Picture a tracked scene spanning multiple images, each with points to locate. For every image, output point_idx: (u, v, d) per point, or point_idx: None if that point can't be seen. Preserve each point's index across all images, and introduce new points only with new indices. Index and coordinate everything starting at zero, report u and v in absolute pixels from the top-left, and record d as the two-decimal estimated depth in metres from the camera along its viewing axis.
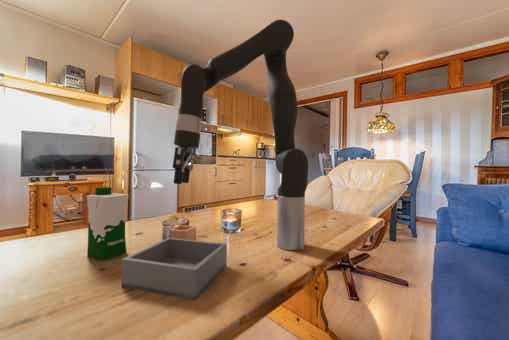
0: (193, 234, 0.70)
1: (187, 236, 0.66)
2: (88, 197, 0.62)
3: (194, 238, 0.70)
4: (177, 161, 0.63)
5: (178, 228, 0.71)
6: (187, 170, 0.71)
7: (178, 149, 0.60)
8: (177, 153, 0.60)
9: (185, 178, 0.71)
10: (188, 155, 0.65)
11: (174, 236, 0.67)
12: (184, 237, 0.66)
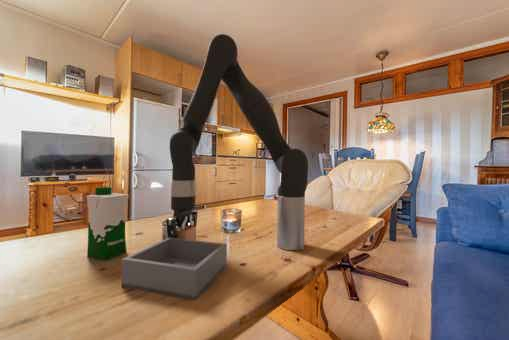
0: (193, 234, 0.70)
1: (187, 236, 0.66)
2: (88, 197, 0.62)
3: (194, 238, 0.70)
4: None
5: None
6: None
7: (168, 221, 0.63)
8: (168, 225, 0.63)
9: None
10: (183, 220, 0.67)
11: None
12: (184, 237, 0.66)
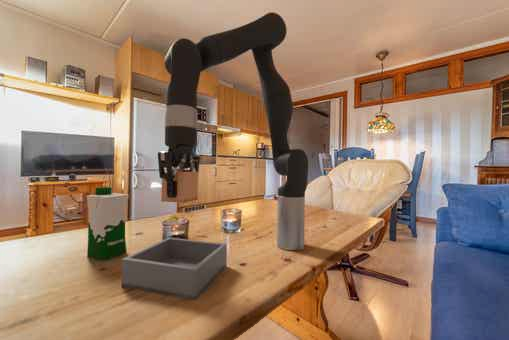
0: (194, 180, 0.53)
1: (186, 180, 0.50)
2: (88, 197, 0.62)
3: (195, 186, 0.54)
4: None
5: None
6: None
7: (161, 154, 0.46)
8: (161, 160, 0.46)
9: None
10: (181, 158, 0.50)
11: None
12: (182, 180, 0.49)
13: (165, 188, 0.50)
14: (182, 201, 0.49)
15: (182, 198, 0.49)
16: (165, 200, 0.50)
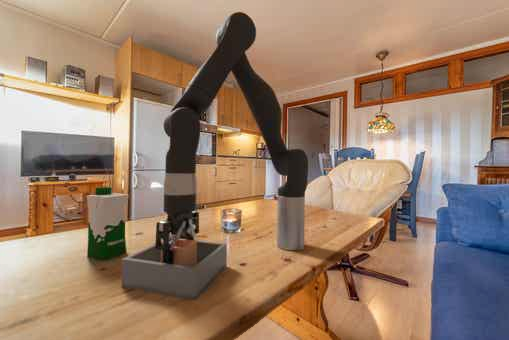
0: (193, 251, 0.53)
1: (185, 256, 0.50)
2: (88, 197, 0.62)
3: (194, 256, 0.54)
4: None
5: None
6: (190, 237, 0.56)
7: (160, 225, 0.46)
8: (159, 230, 0.46)
9: None
10: (179, 226, 0.50)
11: None
12: (181, 257, 0.49)
13: None
14: None
15: None
16: None
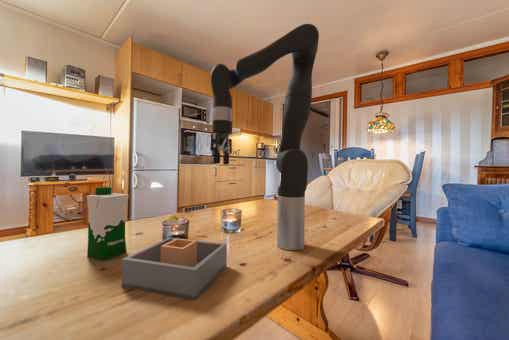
0: (193, 251, 0.53)
1: (185, 256, 0.50)
2: (88, 197, 0.62)
3: (194, 256, 0.54)
4: (215, 145, 0.78)
5: (173, 243, 0.54)
6: (226, 154, 0.85)
7: (213, 135, 0.75)
8: (213, 138, 0.75)
9: (226, 160, 0.85)
10: (223, 140, 0.78)
11: (168, 255, 0.50)
12: (181, 257, 0.49)
13: None
14: None
15: None
16: None
